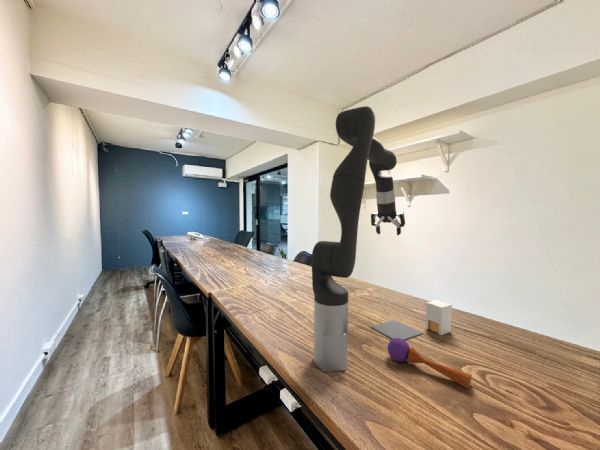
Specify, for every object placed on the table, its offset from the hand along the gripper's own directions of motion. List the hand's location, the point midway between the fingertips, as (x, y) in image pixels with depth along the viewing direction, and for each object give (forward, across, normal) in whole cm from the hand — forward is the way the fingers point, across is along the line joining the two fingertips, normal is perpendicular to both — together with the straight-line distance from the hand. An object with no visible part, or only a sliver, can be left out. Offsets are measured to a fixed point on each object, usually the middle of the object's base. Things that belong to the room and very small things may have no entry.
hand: (388, 234), depth 117 cm
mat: (+20, +10, -37) cm, 43 cm away
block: (+23, +22, -28) cm, 43 cm away
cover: (+23, +22, -28) cm, 43 cm away
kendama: (+13, +22, -54) cm, 60 cm away
